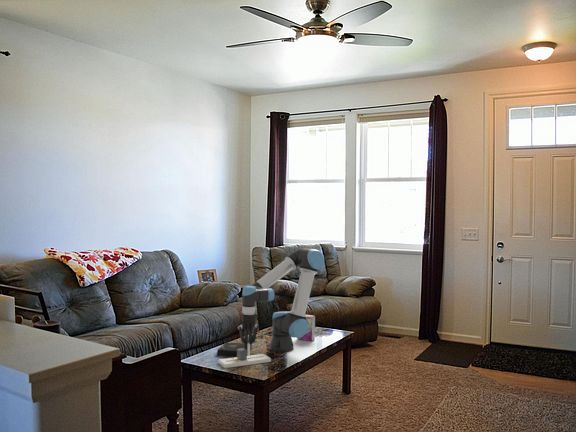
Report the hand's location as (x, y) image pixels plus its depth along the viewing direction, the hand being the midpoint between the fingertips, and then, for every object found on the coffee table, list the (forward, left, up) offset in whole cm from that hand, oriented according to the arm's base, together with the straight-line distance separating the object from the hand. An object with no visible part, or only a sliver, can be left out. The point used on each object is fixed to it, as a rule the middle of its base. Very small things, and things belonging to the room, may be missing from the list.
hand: (247, 354), depth 292 cm
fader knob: (+4, 0, -2) cm, 4 cm away
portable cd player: (0, -21, -5) cm, 22 cm away
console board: (+2, 0, -4) cm, 4 cm away
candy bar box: (-55, -30, -4) cm, 63 cm away
